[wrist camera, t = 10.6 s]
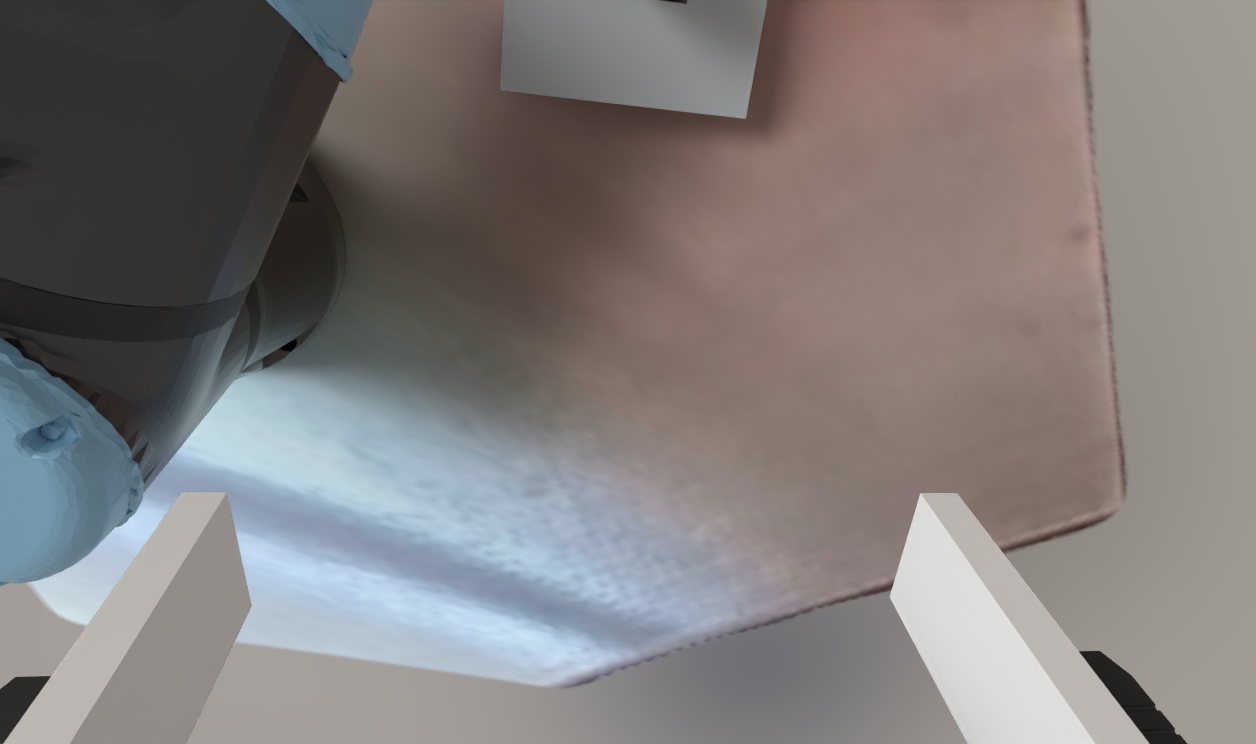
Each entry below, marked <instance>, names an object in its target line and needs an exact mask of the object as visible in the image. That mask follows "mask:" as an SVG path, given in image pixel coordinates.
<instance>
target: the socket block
mask: <svg viewBox="0 0 1256 744" xmlns="http://www.w3.org/2000/svg"><path fill="white" fill-rule="evenodd" d="M766 6H767V0H676V1H669V0H504V8H503V31H502V55H501V79H500V91H509V92H517V93H526V94H535V95H543V96H552V97H561V98H569V99H578V100H587V101H596V102H604V103H613V104H622V105H630V106H639V107H648V108H656V109H665V110H674V111H682V112H691V113H700V114H708V115H717V116H726V117H734V118H743V119H746V115H747V110H748V104H749V99H750V93H751V88H752V82H753V77H754V72H755V66H756V61H757V55H758V50H759V44H760V39H761V33H762V28H763V22H764V17H765V11H766Z"/></svg>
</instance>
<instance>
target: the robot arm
mask: <svg viewBox="0 0 1256 744" xmlns="http://www.w3.org/2000/svg"><path fill="white" fill-rule="evenodd" d="M372 1H373V0H0V586H2V585H5V584H8V583H26V582H32V581H37V580H40V579H43V578H46V577H49V576H52V575H54V574H57V573H59V572H61V571H63V570H65V569H67V568H69V567H71V566H73V565H74V564H76V563H77V562H79V561H80V560H82V559H83V558H84V557H85V556H87V555H88V554H89V553H90V552H91V551H93V550H94V549H95V548H96V547H97V546H98V545H99V543H100V542H101V541H102V540H103V539H104V538H105V537H106V536H107V535H108V534H109V533H110V532H111V531H112V530H113V529H114V528H115V527H118V526H121V525H123V524H124V523H126V522H127V521H128V519H129V517H131V516H132V515H134V514H135V512H136V511H137V509H138V507H139V506H140V504H141V502H142V500H143V493H144V492H145V491H146V490H147V488H148V487H149V486H150V485H151V483H152V482H153V481H154V480H155V478H156V477H157V476H158V475H159V473H160V472H161V471H162V470H163V468H164V467H165V466H166V465H167V463H168V462H169V461H170V460H171V458H172V457H173V456H174V455H175V453H176V452H177V451H178V450H179V448H180V447H181V446H182V445H183V443H184V442H185V441H186V440H187V438H188V437H189V436H190V435H191V433H192V432H193V431H194V430H195V428H196V427H197V426H198V425H199V423H200V422H201V421H202V420H203V418H204V417H205V416H206V415H207V413H208V412H209V411H210V410H211V408H212V407H213V406H214V405H215V403H216V402H217V401H218V400H219V398H220V397H221V396H222V395H223V393H224V392H225V391H226V390H227V388H228V387H229V386H230V384H231V383H232V382H233V381H234V380H235V379H238V378H240V377H243V376H246V375H248V374H251V373H254V372H256V371H259V370H262V369H264V368H267V367H269V366H271V365H274V364H276V363H278V362H280V361H282V360H283V359H285V358H287V357H288V356H290V355H291V354H293V353H294V352H295V351H297V350H298V349H299V348H300V347H301V346H303V345H304V344H305V343H306V342H307V341H308V340H309V339H310V338H311V337H312V336H313V334H314V333H315V332H316V331H317V330H318V328H319V327H320V325H321V324H322V322H323V321H324V319H325V318H326V317H327V315H328V314H329V312H330V311H331V309H332V307H333V305H334V304H335V302H336V299H337V297H338V295H339V292H340V289H341V286H342V282H343V278H344V271H345V261H346V254H345V240H344V234H343V229H342V225H341V221H340V218H339V215H338V212H337V209H336V207H335V204H334V202H333V200H332V198H331V196H330V194H329V192H328V190H327V188H326V186H325V185H324V183H323V181H322V180H321V178H320V177H319V175H318V174H317V172H316V171H315V170H314V169H313V167H312V166H311V165H310V163H309V162H308V161H307V160H306V159H307V157H308V155H309V152H310V150H311V148H312V145H313V143H314V141H315V138H316V136H317V134H318V132H319V129H320V127H321V125H322V122H323V120H324V118H325V115H326V113H327V111H328V108H329V106H330V104H331V101H332V99H333V97H334V94H335V92H336V90H337V87H338V85H339V83H340V81H341V82H344V83H347V82H349V80H350V78H351V76H352V71H353V69H352V66H351V64H350V59H351V57H352V54H353V51H354V49H355V46H356V44H357V41H358V38H359V36H360V33H361V30H362V28H363V25H364V22H365V20H366V17H367V15H368V12H369V9H370V7H371V4H372ZM890 599H891V600H892V602H893V604H894V606H895V608H896V610H897V612H898V614H899V616H900V618H901V619H902V621H903V623H904V625H905V627H906V629H907V631H908V632H909V634H910V636H911V638H912V640H913V642H914V644H915V646H916V648H917V649H918V651H919V653H920V655H921V657H922V659H923V661H924V662H925V664H926V666H927V668H928V670H929V672H930V674H931V675H932V678H933V679H934V681H935V683H936V685H937V687H938V689H939V691H940V692H941V694H942V696H943V698H944V700H945V702H946V704H947V706H948V707H949V709H950V711H951V713H952V715H953V717H954V719H955V721H956V722H957V724H958V726H959V728H960V730H961V732H962V734H963V736H964V737H965V739H966V741H967V743H968V744H1187V743H1186V742H1185V740H1184V739H1183V738H1182V737H1181V736H1180V735H1177V734H1176V733H1175V728H1174V727H1173V726H1172V725H1171V723H1170V722H1169V721H1168V720H1167V718H1166V717H1165V716H1164V715H1163V713H1162V712H1161V711H1157V710H1156V708H1155V704H1154V702H1153V701H1152V700H1151V699H1150V698H1149V696H1148V695H1147V694H1146V693H1145V691H1144V690H1143V689H1142V688H1141V687H1140V685H1139V684H1138V683H1137V682H1136V680H1135V679H1134V678H1133V677H1132V676H1131V675H1130V674H1129V673H1127V672H1126V671H1125V670H1123V669H1122V668H1121V667H1120V666H1118V665H1117V664H1116V663H1115V662H1113V661H1112V660H1111V659H1109V658H1108V657H1107V656H1106V655H1104V654H1103V653H1102V652H1100V651H1082V652H1081V651H1080V652H1079V651H1078V650H1077V649H1076V647H1075V646H1074V645H1073V643H1072V642H1071V641H1070V640H1069V638H1068V637H1067V636H1066V634H1065V633H1064V632H1063V630H1062V629H1061V628H1060V627H1059V625H1058V624H1057V623H1056V621H1055V620H1054V619H1053V617H1052V616H1051V615H1050V614H1049V612H1048V611H1047V610H1046V608H1045V607H1044V606H1043V604H1042V603H1041V602H1040V601H1039V599H1038V598H1037V597H1036V595H1035V594H1034V593H1033V591H1032V590H1031V589H1030V587H1029V586H1028V585H1027V584H1026V582H1025V581H1024V580H1023V578H1022V577H1021V576H1020V574H1018V572H1017V571H1016V569H1015V568H1014V567H1013V565H1012V564H1011V563H1010V561H1009V560H1008V559H1007V558H1006V556H1005V555H1004V554H1003V552H1002V551H1001V550H1000V548H999V547H998V546H997V545H996V543H995V542H994V541H993V539H992V538H991V537H990V535H989V534H988V533H987V531H986V530H985V529H984V528H983V526H982V525H981V524H980V522H979V521H978V520H977V518H976V517H975V516H974V515H973V513H972V512H971V511H970V509H969V508H968V507H967V505H966V504H965V503H964V502H963V500H962V499H961V498H960V496H959V495H958V494H957V493H920V497H919V500H918V503H917V507H916V510H915V513H914V517H913V520H912V523H911V527H910V530H909V534H908V537H907V540H906V544H905V547H904V550H903V554H902V557H901V561H900V564H899V567H898V571H897V574H896V577H895V581H894V584H893V587H892V591H891V595H890ZM250 608H251V601H250V596H249V592H248V587H247V583H246V578H245V573H244V569H243V564H242V560H241V555H240V550H239V546H238V541H237V537H236V532H235V527H234V523H233V518H232V514H231V509H230V504H229V500H228V495H227V492H182V493H181V494H180V496H179V497H178V499H177V500H176V501H175V503H174V504H173V506H172V507H171V508H170V510H169V511H168V513H167V514H166V515H165V517H164V518H163V520H162V521H161V523H160V524H159V525H158V527H157V528H156V530H155V531H154V532H153V534H152V535H151V537H150V538H149V539H148V541H147V542H146V544H145V545H144V546H143V548H142V549H141V551H140V552H139V553H138V555H137V556H136V558H135V559H134V561H133V562H132V563H131V565H130V566H129V568H128V569H127V570H126V572H125V573H124V575H123V576H122V577H121V579H120V580H119V582H118V583H117V584H116V586H115V587H114V589H113V590H112V591H111V593H110V594H109V596H108V597H107V599H106V600H105V601H104V603H103V604H102V606H101V607H100V608H99V610H98V611H97V613H96V614H95V615H94V617H93V618H92V620H91V621H90V622H89V624H88V625H87V627H86V628H85V630H84V631H83V632H82V634H81V635H80V637H79V638H78V639H77V641H76V642H75V644H74V645H73V646H72V648H71V649H70V651H69V652H68V653H67V655H66V656H65V658H64V659H63V660H62V662H61V663H60V665H59V666H58V668H57V669H56V670H55V672H54V673H53V675H52V676H44V677H43V676H39V677H15V678H14V679H13V680H11V681H10V682H9V683H8V684H6V685H5V686H4V687H3V688H1V689H0V744H186V743H187V741H188V739H189V737H190V735H191V732H192V730H193V728H194V726H195V724H196V722H197V720H198V718H199V716H200V714H201V711H202V709H203V707H204V705H205V703H206V701H207V698H208V697H209V695H210V692H211V690H212V688H213V686H214V684H215V682H216V679H217V677H218V676H219V674H220V671H221V669H222V667H223V665H224V663H225V661H226V659H227V657H228V655H229V652H230V650H231V648H232V646H233V644H234V642H235V640H236V638H237V636H238V633H239V631H240V629H241V627H242V625H243V623H244V621H245V619H246V617H247V615H248V612H249V610H250Z"/></svg>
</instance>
